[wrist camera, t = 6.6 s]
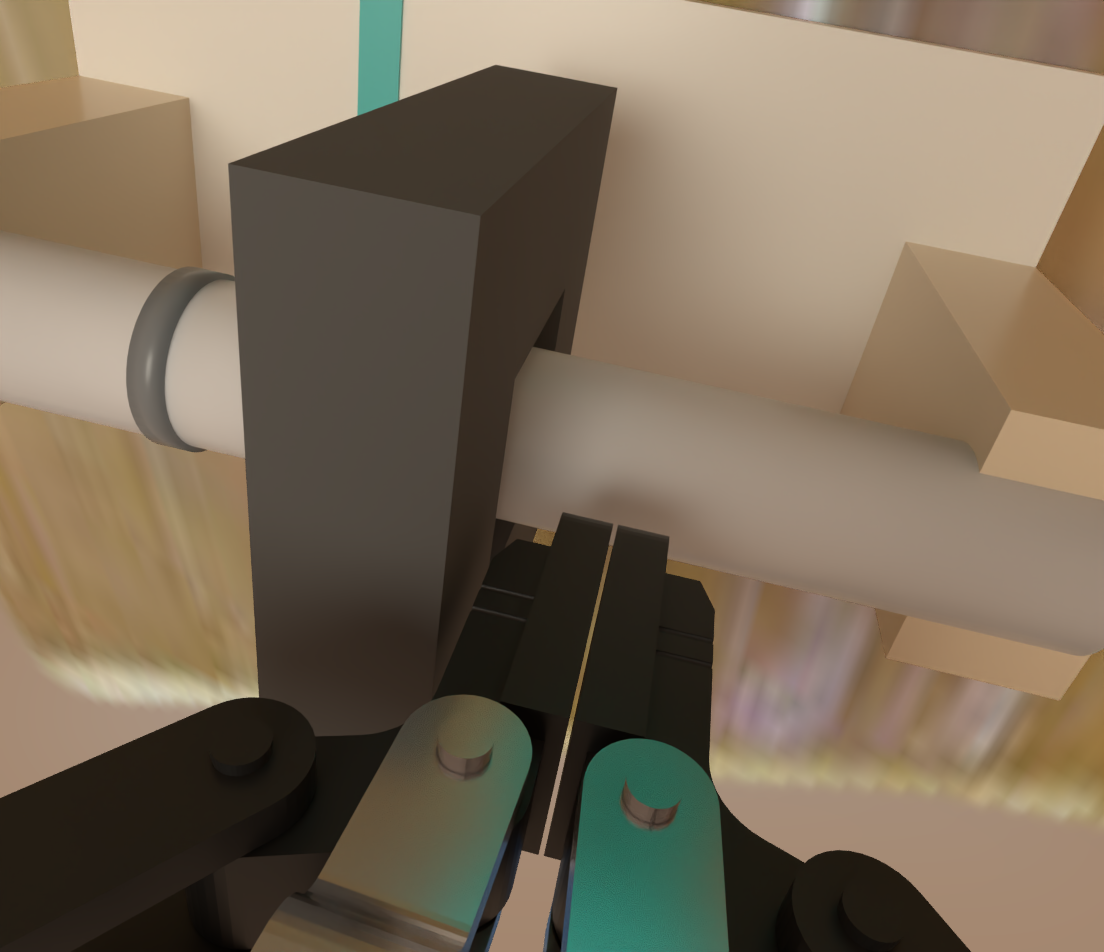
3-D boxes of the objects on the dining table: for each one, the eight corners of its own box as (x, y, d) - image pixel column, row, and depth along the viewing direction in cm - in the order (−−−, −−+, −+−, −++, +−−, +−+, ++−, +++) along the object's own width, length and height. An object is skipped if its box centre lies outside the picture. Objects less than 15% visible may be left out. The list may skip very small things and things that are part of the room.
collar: (617, 88, 16) (481, 215, 7) (542, 512, 21) (414, 866, 13) (495, 64, 16) (227, 163, 8) (452, 491, 21) (267, 826, 13)
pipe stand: (1098, 72, 18) (1503, 183, 9) (885, 537, 25) (977, 890, 16) (94, -109, 20) (-497, -185, 11) (152, 369, 27) (-173, 588, 18)
